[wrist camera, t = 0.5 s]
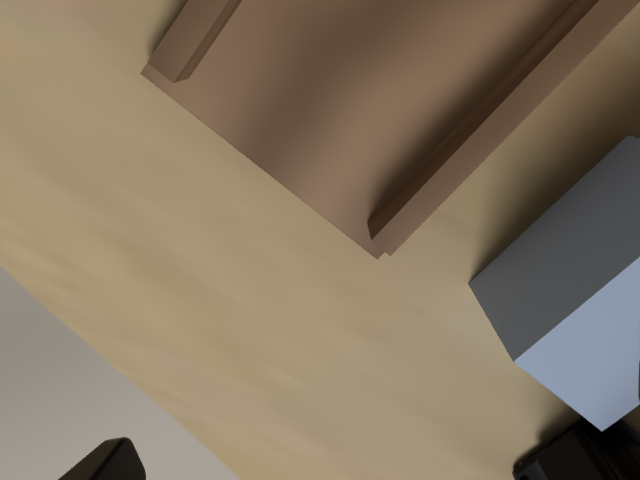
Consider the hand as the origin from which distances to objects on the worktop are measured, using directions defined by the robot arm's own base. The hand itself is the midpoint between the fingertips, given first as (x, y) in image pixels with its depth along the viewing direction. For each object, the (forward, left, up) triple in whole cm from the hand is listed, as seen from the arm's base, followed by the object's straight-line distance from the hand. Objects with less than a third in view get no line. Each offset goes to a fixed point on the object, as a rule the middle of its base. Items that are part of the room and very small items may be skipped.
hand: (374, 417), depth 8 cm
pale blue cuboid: (-10, -5, -14) cm, 17 cm away
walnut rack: (+3, -6, -13) cm, 15 cm away
